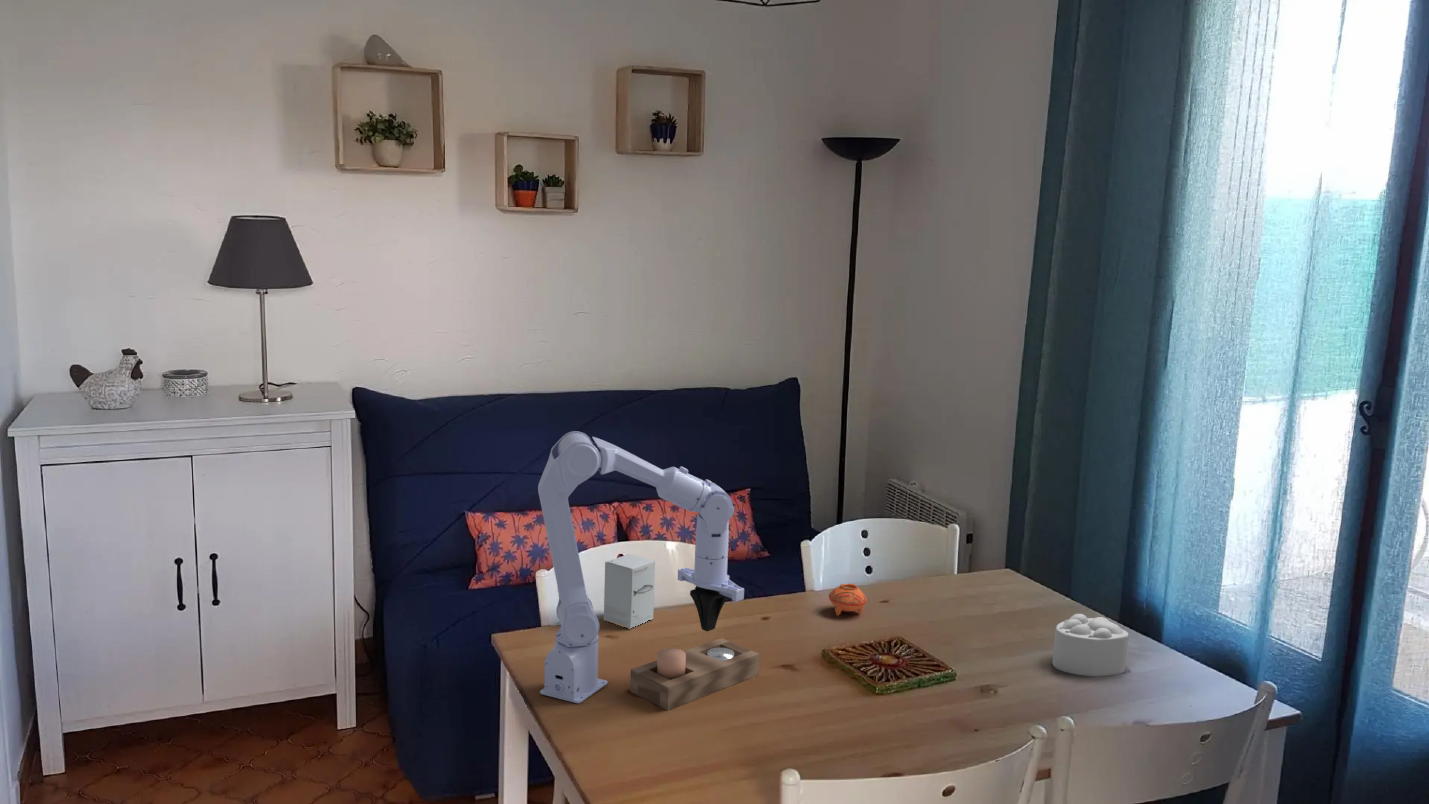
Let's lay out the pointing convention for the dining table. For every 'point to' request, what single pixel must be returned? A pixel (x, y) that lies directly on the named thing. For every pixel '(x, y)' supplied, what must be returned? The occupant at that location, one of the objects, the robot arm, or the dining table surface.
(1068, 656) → the lumpy-topped squat cylinder
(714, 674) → the wooden peg holder
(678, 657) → the near peg
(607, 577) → the supplement box
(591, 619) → the robot arm
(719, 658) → the far peg
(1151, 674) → the dining table surface
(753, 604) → the dining table surface
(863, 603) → the pot
